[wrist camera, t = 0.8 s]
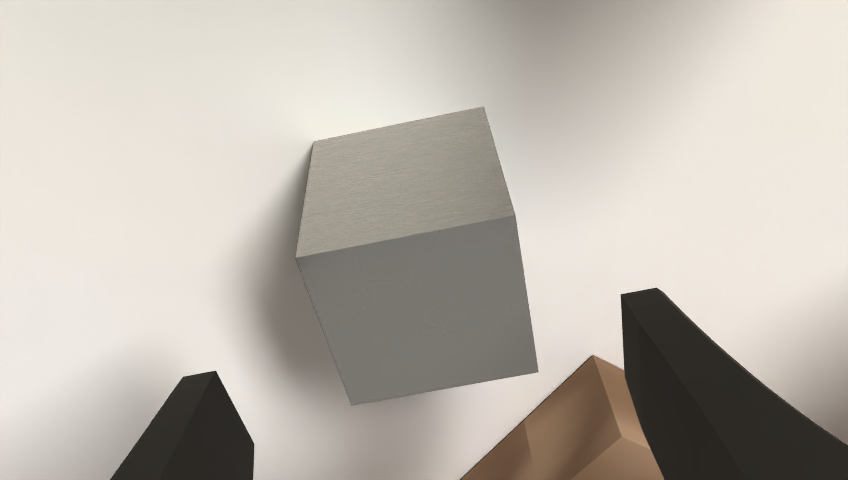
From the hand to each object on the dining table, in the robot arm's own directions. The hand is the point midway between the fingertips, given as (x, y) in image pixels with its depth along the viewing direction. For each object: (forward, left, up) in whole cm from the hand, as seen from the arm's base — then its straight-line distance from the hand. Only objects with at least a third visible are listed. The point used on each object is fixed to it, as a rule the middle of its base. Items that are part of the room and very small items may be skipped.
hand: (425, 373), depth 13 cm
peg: (0, 0, -6) cm, 6 cm away
